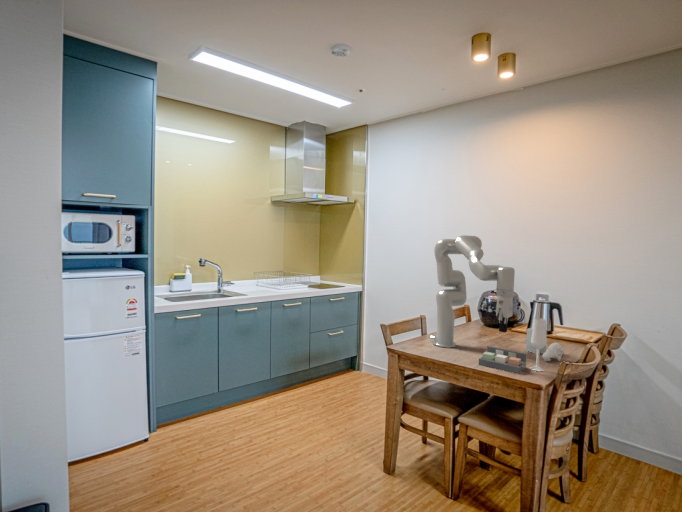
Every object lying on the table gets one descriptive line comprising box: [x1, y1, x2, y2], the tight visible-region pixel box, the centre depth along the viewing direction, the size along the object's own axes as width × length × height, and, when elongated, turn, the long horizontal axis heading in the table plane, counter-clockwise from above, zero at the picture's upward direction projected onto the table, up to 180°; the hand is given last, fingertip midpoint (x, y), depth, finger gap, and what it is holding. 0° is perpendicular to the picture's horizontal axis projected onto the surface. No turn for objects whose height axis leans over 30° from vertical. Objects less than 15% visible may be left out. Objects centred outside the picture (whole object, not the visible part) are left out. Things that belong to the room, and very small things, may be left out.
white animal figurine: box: [541, 342, 564, 362], centre depth 204 cm, size 6×8×12 cm
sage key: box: [481, 351, 495, 360], centre depth 194 cm, size 4×4×2 cm
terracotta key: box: [508, 357, 521, 366], centre depth 187 cm, size 4×4×2 cm
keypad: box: [478, 345, 528, 374], centre depth 192 cm, size 18×12×7 cm, turn 50°
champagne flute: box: [529, 317, 548, 371], centre depth 188 cm, size 7×7×24 cm
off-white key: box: [495, 354, 508, 363], centre depth 190 cm, size 4×4×2 cm
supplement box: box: [525, 327, 548, 355], centre depth 219 cm, size 7×7×13 cm
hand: (502, 331), depth 190 cm, fingers closed
